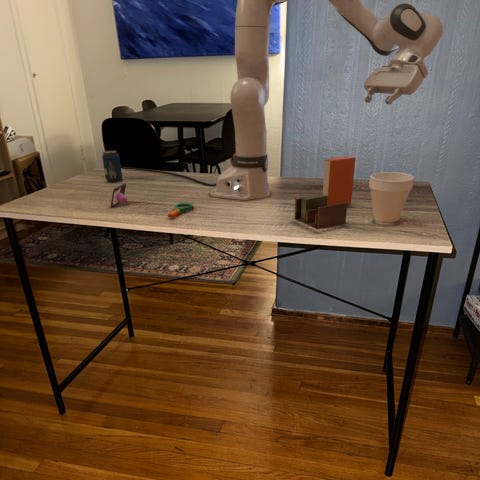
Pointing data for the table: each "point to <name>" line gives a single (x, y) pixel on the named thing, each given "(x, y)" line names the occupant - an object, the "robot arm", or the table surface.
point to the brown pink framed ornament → (119, 195)
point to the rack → (319, 211)
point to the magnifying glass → (180, 209)
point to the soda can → (112, 166)
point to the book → (339, 179)
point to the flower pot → (389, 194)
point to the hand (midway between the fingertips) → (376, 102)
